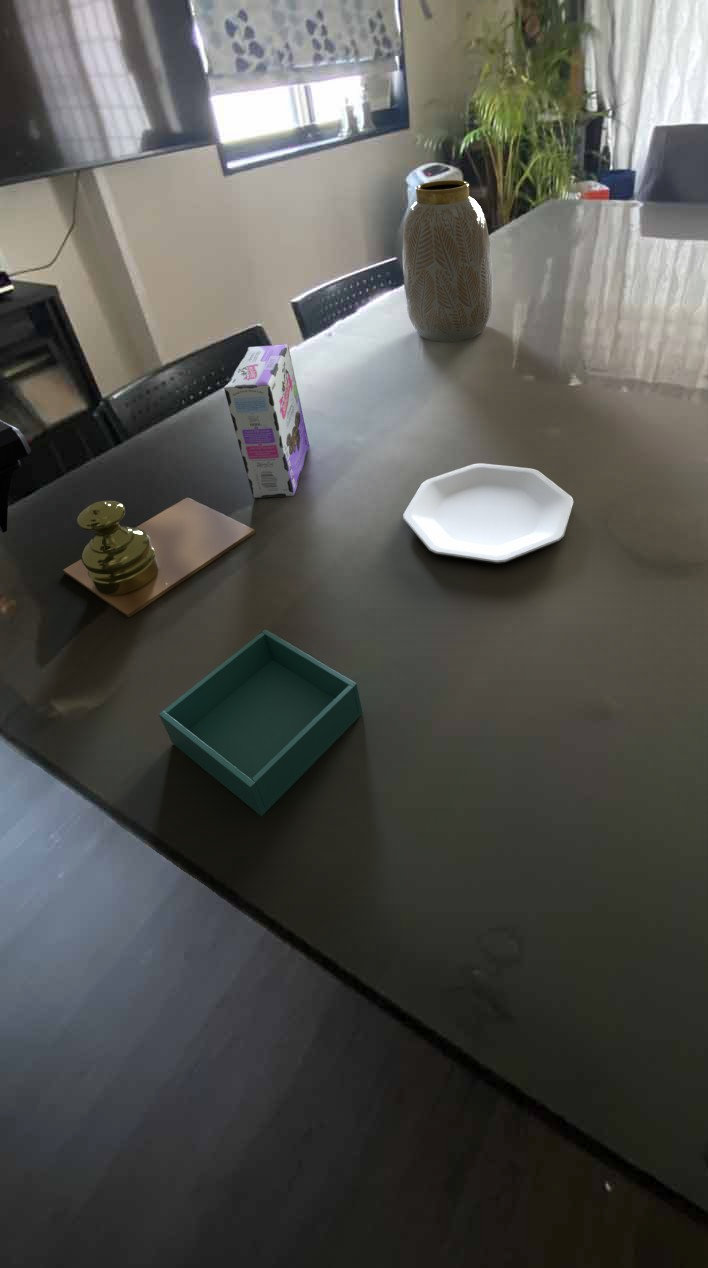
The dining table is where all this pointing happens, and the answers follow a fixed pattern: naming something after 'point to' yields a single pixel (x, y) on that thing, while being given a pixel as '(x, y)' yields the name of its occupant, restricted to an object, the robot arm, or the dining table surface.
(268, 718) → the storage box
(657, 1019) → the dining table surface
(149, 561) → the brass door knob
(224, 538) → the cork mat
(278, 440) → the candy box
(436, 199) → the vase
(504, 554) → the plate
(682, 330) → the dining table surface
